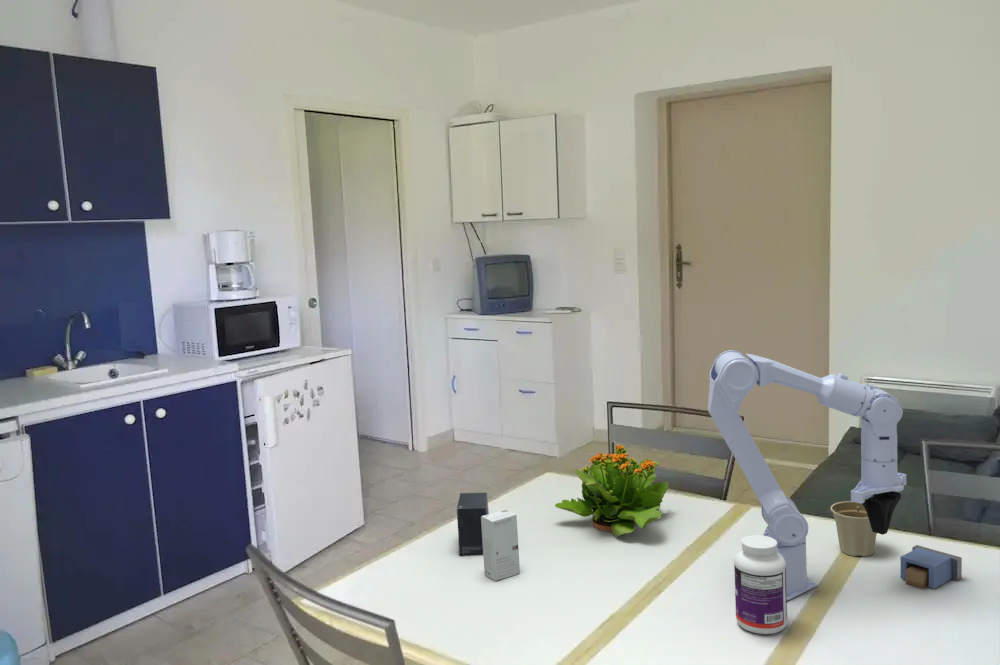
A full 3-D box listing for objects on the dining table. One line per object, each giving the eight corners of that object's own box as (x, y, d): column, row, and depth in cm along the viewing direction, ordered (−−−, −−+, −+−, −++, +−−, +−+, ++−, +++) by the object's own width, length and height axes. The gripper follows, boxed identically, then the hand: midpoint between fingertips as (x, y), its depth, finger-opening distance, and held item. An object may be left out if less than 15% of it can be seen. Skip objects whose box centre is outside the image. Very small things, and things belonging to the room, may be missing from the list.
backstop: (957, 581, 140) (957, 560, 140) (912, 567, 147) (912, 547, 146) (961, 578, 141) (961, 557, 141) (916, 565, 148) (916, 544, 147)
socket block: (934, 588, 138) (934, 566, 137) (900, 577, 143) (900, 556, 142) (951, 578, 141) (951, 557, 141) (917, 568, 146) (917, 547, 146)
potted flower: (546, 540, 172) (541, 462, 170) (568, 504, 194) (564, 435, 192) (662, 546, 164) (658, 465, 162) (671, 508, 187) (668, 436, 185)
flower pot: (877, 564, 149) (876, 520, 148) (825, 555, 155) (824, 512, 154) (888, 547, 157) (887, 505, 156) (838, 538, 162) (837, 498, 161)
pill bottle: (747, 609, 135) (745, 528, 134) (794, 621, 130) (792, 537, 128) (728, 628, 129) (725, 544, 127) (776, 642, 124) (774, 554, 122)
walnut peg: (922, 590, 138) (922, 574, 138) (905, 585, 141) (905, 569, 140) (939, 580, 142) (939, 564, 141) (922, 575, 144) (922, 559, 144)
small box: (489, 554, 166) (486, 506, 165) (458, 556, 166) (455, 508, 165) (491, 536, 177) (487, 490, 175) (462, 537, 177) (458, 492, 176)
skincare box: (495, 582, 152) (491, 522, 151) (483, 574, 156) (479, 516, 155) (521, 573, 156) (517, 514, 154) (509, 566, 160) (505, 508, 158)
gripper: (878, 471, 131) (879, 549, 132) (923, 453, 139) (923, 527, 140) (839, 463, 136) (840, 538, 138) (884, 446, 145) (885, 517, 146)
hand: (879, 532), depth 140 cm, fingers closed
